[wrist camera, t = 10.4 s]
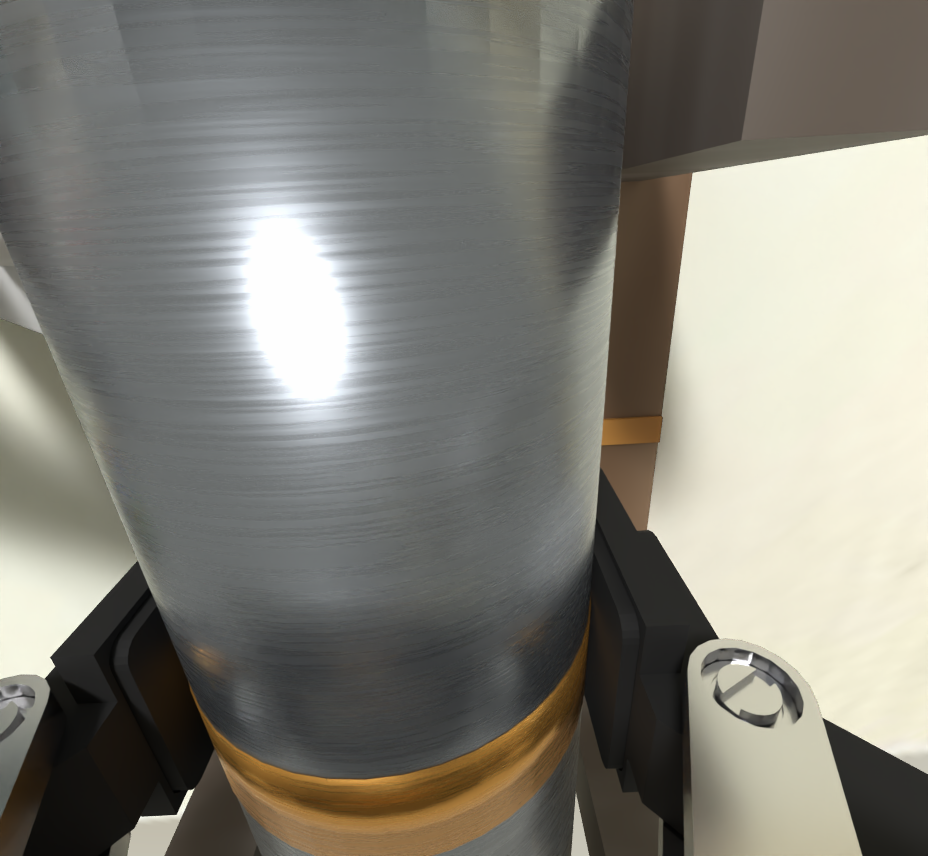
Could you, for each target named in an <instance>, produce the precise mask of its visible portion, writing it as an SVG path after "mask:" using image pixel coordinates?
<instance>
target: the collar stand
mask: <svg viewBox="0 0 928 856" xmlns="http://www.w3.org/2000/svg"><path fill="white" fill-rule="evenodd" d="M924 135H928V0H634V13H633V27H632V40H631V54H630V67H629V81H628V94H627V108H626V121H625V135H624V148H623V161H622V175H621V188H620V202H619V215H618V229H617V242H616V256H615V269H614V283H613V296H612V309H611V323H610V336H609V350H608V363H607V377H606V390H605V404H604V417H603V431H602V444H601V457H600V467H601V469H602V470H603V472H604V473H605V475H606V477H607V479H608V480H609V482H610V484H611V486H612V488H613V489H614V491H615V493H616V495H617V496H618V498H619V500H620V502H621V503H622V505H623V507H624V509H625V510H626V512H627V514H628V516H629V518H630V519H631V521H632V523H633V525H634V526H635V528H636V530H637V531H642V530H647V524H648V516H649V508H650V501H651V493H652V485H653V477H654V469H655V461H656V454H657V446H658V442H660V434H661V427H662V419H663V417H662V416H661V415H662V407H663V399H664V391H665V383H666V375H667V368H668V360H669V352H670V344H671V336H672V329H673V321H674V313H675V305H676V297H677V289H678V282H679V274H680V266H681V258H682V250H683V243H684V235H685V227H686V219H687V211H688V203H689V196H690V188H691V180H692V173H693V172H700V171H706V170H712V169H718V168H725V167H731V166H737V165H743V164H749V163H756V162H762V161H768V160H774V159H781V158H787V157H793V156H799V155H805V154H812V153H818V152H824V151H830V150H837V149H843V148H849V147H855V146H861V145H868V144H874V143H880V142H886V141H893V140H899V139H905V138H911V137H917V136H924ZM576 794H577V799H578V803H579V808H580V813H581V817H582V823H583V827H584V832H585V836H586V842H587V846H588V851H589V855H590V856H658V835H659V816H658V815H656V814H655V813H654V812H653V811H651V810H650V809H649V808H647V807H646V806H645V805H644V804H642V802H641V798H640V795H639V792H627V793H623V792H622V789H621V785H620V782H619V778H618V775H617V771H616V769H606V768H605V767H604V765H603V762H602V759H601V755H600V752H599V748H598V744H597V740H596V737H595V733H594V729H593V725H592V722H591V718H590V714H589V710H588V707H587V703H586V699H585V695H584V698H583V705H582V713H581V727H580V740H579V753H578V767H577V780H576ZM165 856H262V855H261V853H260V851H259V848H258V846H257V844H256V841H255V839H254V836H253V834H252V832H251V829H250V827H249V824H248V822H247V820H246V817H245V815H244V812H243V810H242V808H241V805H240V803H239V801H238V798H237V796H236V795H235V793H234V792H233V790H232V788H231V785H230V783H229V781H228V779H227V776H226V774H225V772H224V769H223V767H222V765H221V762H220V760H219V757H218V755H217V753H216V750H215V749H214V752H213V754H212V756H211V758H210V761H209V763H208V765H207V767H206V770H205V772H204V774H203V776H202V778H201V780H200V782H199V784H198V785H197V786H196V787H195V789H194V791H193V793H192V796H191V798H190V800H189V802H188V804H187V807H186V809H185V811H184V813H183V816H182V818H181V820H180V822H179V825H178V827H177V829H176V831H175V833H174V836H173V838H172V840H171V842H170V845H169V847H168V849H167V851H166V854H165Z"/></svg>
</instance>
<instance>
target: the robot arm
mask: <svg viewBox="0 0 928 856" xmlns="http://www.w3.org/2000/svg"><path fill="white" fill-rule="evenodd" d="M590 597H591V611H590V624H589V637H588V651H587V664H586V677H585V688H584V695H585V699H586V703H587V707H588V710H589V714H590V718H591V722H592V725H593V729H594V733H595V737H596V740H597V744H598V748H599V752H600V755H601V759H602V762H603V765H604V767H605V768H606V769H616V771H617V775H618V778H619V782H620V785H621V789H622V792H623V793H627V792H639V795H640V798H641V802H642V804H644V805H645V806H646V807H647V808H649V809H650V810H651V811H653V812H654V813H655V814H656V815H658V816H659V835H658V856H928V774H926V773H924V772H922V771H920V770H919V769H917V768H915V767H913V766H911V765H909V764H907V763H906V762H904V761H902V760H900V759H898V758H896V757H894V756H893V755H891V754H889V753H887V752H885V751H883V750H881V749H880V748H878V747H876V746H874V745H872V744H870V743H868V742H867V741H865V740H863V739H861V738H859V737H857V736H855V735H854V734H852V733H850V732H848V731H846V730H844V729H842V728H840V727H839V726H837V725H835V724H833V723H831V722H829V721H827V720H826V719H824V718H822V715H821V712H820V708H819V705H818V702H817V700H816V698H815V695H814V693H813V691H812V689H811V687H810V685H809V684H808V683H807V682H806V681H805V679H804V678H803V677H802V676H801V675H800V673H799V672H798V671H797V670H796V669H795V668H793V667H792V666H791V665H790V664H788V663H787V662H786V661H785V660H783V659H782V658H781V657H779V656H777V655H776V654H774V653H772V652H770V651H768V650H766V649H765V648H763V647H760V646H757V645H754V644H751V643H748V642H745V641H742V640H734V639H726V638H724V639H719V638H718V636H717V635H716V633H715V631H714V630H713V628H712V626H711V625H710V623H709V622H708V620H707V618H706V617H705V615H704V613H703V612H702V610H701V609H700V607H699V605H698V604H697V602H696V600H695V599H694V597H693V596H692V594H691V592H690V591H689V589H688V587H687V586H686V584H685V583H684V581H683V579H682V578H681V576H680V574H679V573H678V571H677V570H676V568H675V566H674V565H673V563H672V561H671V560H670V558H669V557H668V555H667V553H666V552H665V550H664V548H663V547H662V545H661V544H660V542H659V540H658V539H657V537H656V536H655V535H654V533H653V532H651V531H649V530H642V531H637V530H636V528H635V526H634V525H633V523H632V521H631V519H630V518H629V516H628V514H627V512H626V510H625V509H624V507H623V505H622V503H621V502H620V500H619V498H618V496H617V495H616V493H615V491H614V489H613V488H612V486H611V484H610V482H609V480H608V479H607V477H606V475H605V473H604V472H603V470H602V469H601V467H600V471H599V484H598V498H597V511H596V525H595V538H594V552H593V565H592V579H591V592H590ZM50 658H51V659H52V661H53V663H54V665H55V666H56V667H55V668H54V669H53V670H52V671H51V672H50V673H49V675H48V676H47V677H46V678H45V679H43V678H41V677H39V676H37V675H17V676H13V677H8V678H4V679H1V680H0V856H127V854H128V848H129V843H130V835H131V833H130V832H131V830H133V829H134V828H135V826H136V824H137V822H138V820H139V818H140V816H142V817H143V816H163V815H177V813H178V810H179V808H180V806H181V804H182V802H183V800H184V797H185V795H186V793H187V791H188V790H192V789H194V788H195V787H196V786H197V785H198V784H199V782H200V780H201V778H202V776H203V774H204V772H205V770H206V767H207V765H208V763H209V761H210V758H211V756H212V754H213V752H214V749H215V748H214V746H213V743H212V741H211V738H210V736H209V734H208V731H207V729H206V727H205V724H204V722H203V720H202V717H201V715H200V712H199V710H198V708H197V705H196V703H195V701H194V698H193V696H192V693H191V691H190V687H189V682H188V679H187V676H186V674H185V672H184V669H183V667H182V664H181V662H180V660H179V657H178V655H177V653H176V650H175V648H174V645H173V643H172V641H171V638H170V636H169V633H168V631H167V629H166V626H165V624H164V622H163V619H162V617H161V614H160V612H159V610H158V607H157V605H156V602H155V600H154V598H153V595H152V593H151V590H150V588H149V586H148V583H147V581H146V579H145V576H144V574H143V571H142V569H141V567H140V564H139V562H138V561H137V562H136V563H135V564H134V565H133V567H132V568H131V569H130V570H129V571H128V572H127V573H126V574H125V575H124V577H123V578H122V579H121V580H120V581H119V582H118V583H117V584H116V585H115V586H114V588H113V589H112V590H111V591H110V592H109V593H108V594H107V595H106V596H105V598H104V599H103V600H102V601H101V602H100V603H99V604H98V605H97V606H96V607H95V609H94V610H93V611H92V612H91V613H90V614H89V615H88V616H87V617H86V619H85V620H84V621H83V622H82V623H81V624H80V625H79V626H78V627H77V628H76V630H75V631H74V632H73V633H72V634H71V635H70V636H69V637H68V638H67V640H66V641H65V642H64V643H63V644H62V645H61V646H60V647H59V648H58V649H57V651H56V652H55V653H54V654H53V655H52V656H51V657H50Z"/></svg>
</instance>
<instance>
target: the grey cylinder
mask: <svg viewBox="0 0 928 856" xmlns="http://www.w3.org/2000/svg"><path fill="white" fill-rule="evenodd" d="M633 13H634V0H0V232H1V235H2V237H3V240H4V242H5V244H6V247H7V249H8V251H9V254H10V256H11V259H12V261H13V263H14V266H15V268H16V271H17V273H18V275H19V278H20V280H21V283H22V285H23V287H24V290H25V292H26V294H27V297H28V299H29V302H30V304H31V306H32V309H33V311H34V314H35V316H36V318H37V321H38V323H39V325H40V328H41V330H42V333H43V335H44V337H45V340H46V342H47V345H48V347H49V349H50V352H51V354H52V357H53V359H54V361H55V364H56V366H57V368H58V371H59V373H60V376H61V378H62V380H63V383H64V385H65V388H66V390H67V392H68V395H69V397H70V399H71V402H72V404H73V407H74V409H75V411H76V414H77V416H78V419H79V421H80V423H81V426H82V428H83V431H84V433H85V435H86V438H87V440H88V442H89V445H90V447H91V450H92V452H93V454H94V457H95V459H96V462H97V464H98V466H99V469H100V471H101V473H102V476H103V478H104V481H105V483H106V485H107V488H108V490H109V493H110V495H111V497H112V500H113V502H114V505H115V507H116V509H117V512H118V514H119V516H120V519H121V521H122V524H123V526H124V528H125V531H126V533H127V536H128V538H129V540H130V543H131V545H132V547H133V550H134V552H135V555H136V557H137V559H138V562H139V564H140V567H141V569H142V571H143V574H144V576H145V579H146V581H147V583H148V586H149V588H150V590H151V593H152V595H153V598H154V600H155V602H156V605H157V607H158V610H159V612H160V614H161V617H162V619H163V622H164V624H165V626H166V629H167V631H168V633H169V636H170V638H171V641H172V643H173V645H174V648H175V650H176V653H177V655H178V657H179V660H180V662H181V664H182V667H183V669H184V672H185V674H186V676H187V679H188V682H189V687H190V691H191V693H192V696H193V698H194V701H195V703H196V705H197V708H198V710H199V712H200V715H201V717H202V720H203V722H204V724H205V727H206V729H207V731H208V734H209V736H210V738H211V741H212V743H213V746H214V748H215V750H216V753H217V755H218V757H219V760H220V762H221V765H222V767H223V769H224V772H225V774H226V776H227V779H228V781H229V783H230V785H231V788H232V790H233V792H234V793H235V795H236V796H237V798H238V801H239V803H240V805H241V808H242V810H243V812H244V815H245V817H246V820H247V822H248V824H249V827H250V829H251V832H252V834H253V836H254V839H255V841H256V844H257V846H258V848H259V851H260V853H261V855H262V856H571V848H572V833H573V820H574V807H575V794H576V780H577V767H578V753H579V740H580V727H581V713H582V705H583V698H584V688H585V677H586V664H587V651H588V637H589V624H590V611H591V597H590V592H591V579H592V565H593V552H594V538H595V525H596V511H597V498H598V484H599V471H600V457H601V444H602V431H603V417H604V404H605V390H606V377H607V363H608V350H609V336H610V323H611V309H612V296H613V283H614V269H615V256H616V242H617V229H618V215H619V202H620V188H621V175H622V161H623V148H624V135H625V121H626V108H627V94H628V81H629V67H630V54H631V40H632V27H633Z"/></svg>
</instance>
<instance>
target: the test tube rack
mask: <svg viewBox="0 0 928 856" xmlns="http://www.w3.org/2000/svg"><path fill="white" fill-rule="evenodd" d="M0 318H1V319H3V320H6V321H9V322H11V323H14V324H17V325H19V326H22V327H25V328H27V329H30V330H33V331H35V332H38V333H41V334H43V333H42V330H41V328H40V325H39V323H38V321H37V318H36V316H35V314H34V311H33V309H32V306H31V304H30V302H29V299H28V297H27V294H26V292H25V290H24V287H23V285H22V283H21V280H20V278H19V275H18V273H17V271H16V268H15V266H14V263H13V261H12V259H11V256H10V254H9V251H8V249H7V247H6V244H5V242H4V240H3V237H2V235H1V232H0Z"/></svg>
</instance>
